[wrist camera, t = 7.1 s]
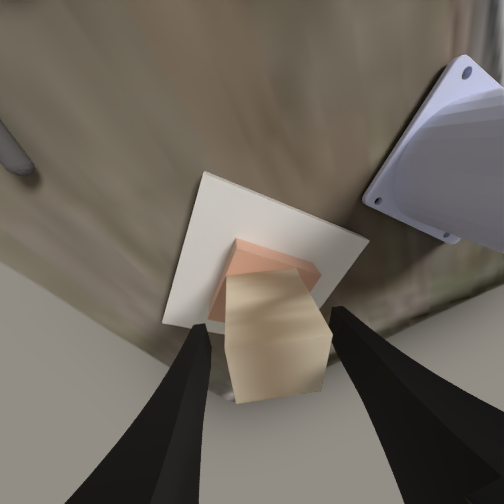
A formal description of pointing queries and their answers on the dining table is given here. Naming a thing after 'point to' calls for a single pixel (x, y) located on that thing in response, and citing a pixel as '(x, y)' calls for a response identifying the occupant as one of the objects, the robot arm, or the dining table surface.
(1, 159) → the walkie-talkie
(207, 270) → the base plate
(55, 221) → the dining table surface
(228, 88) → the dining table surface
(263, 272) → the birch block
